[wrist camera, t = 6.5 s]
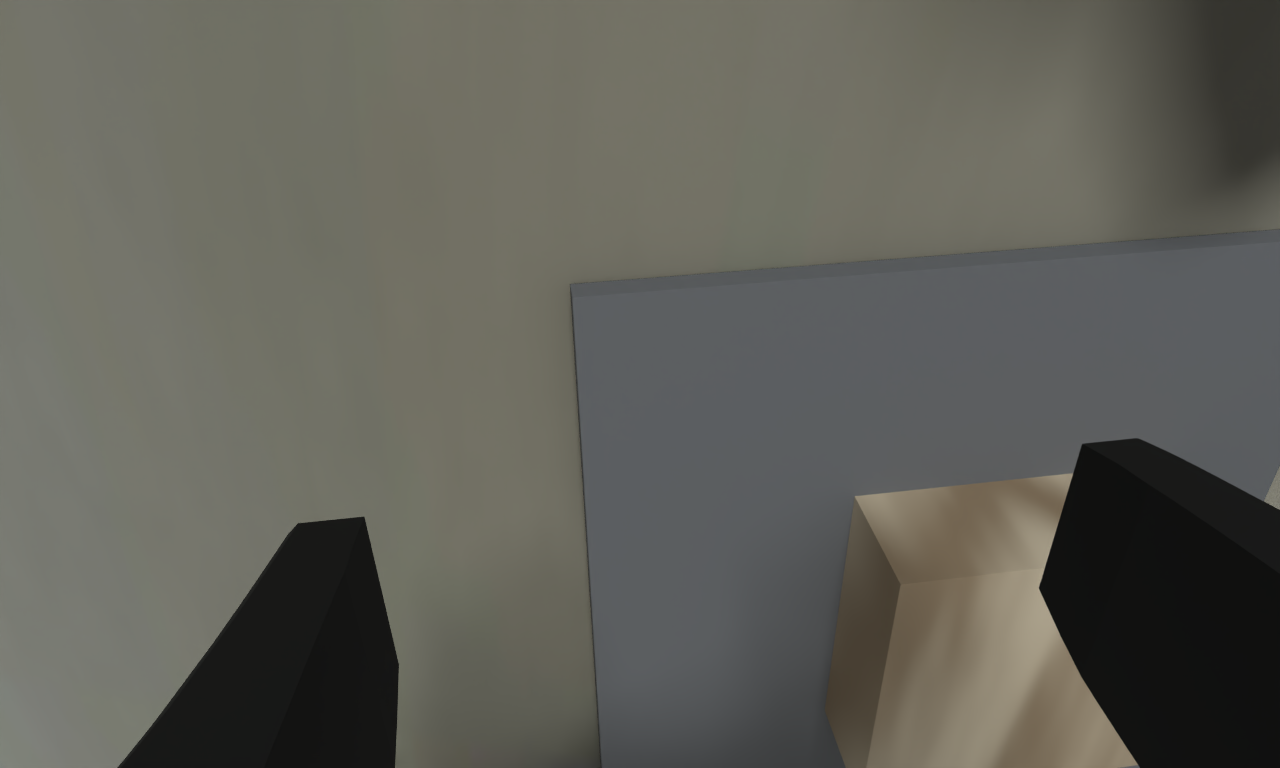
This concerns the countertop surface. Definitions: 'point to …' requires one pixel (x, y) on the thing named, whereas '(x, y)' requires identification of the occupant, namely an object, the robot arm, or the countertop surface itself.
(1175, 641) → the robot arm
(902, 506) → the tan flat block
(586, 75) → the countertop surface
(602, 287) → the mat
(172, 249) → the countertop surface
